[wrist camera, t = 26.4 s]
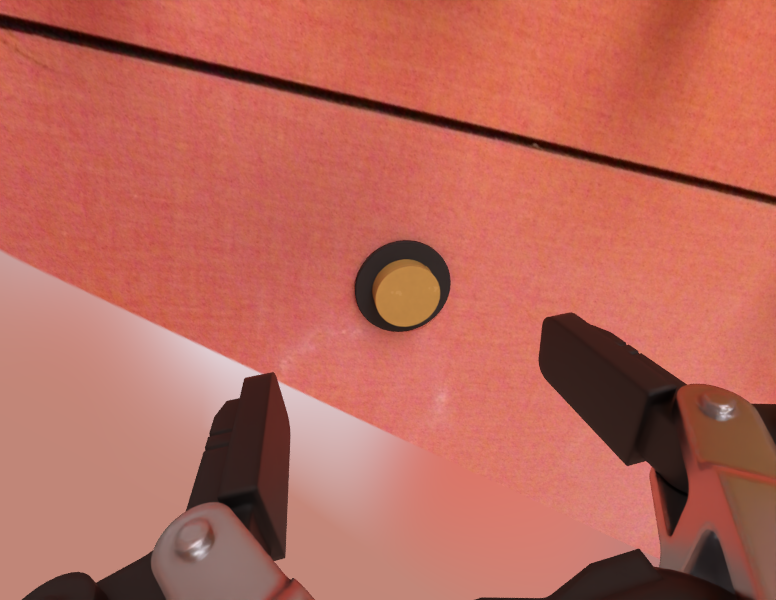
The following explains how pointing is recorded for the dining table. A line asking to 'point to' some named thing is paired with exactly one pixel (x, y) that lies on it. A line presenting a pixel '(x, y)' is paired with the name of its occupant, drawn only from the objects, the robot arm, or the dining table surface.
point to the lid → (405, 292)
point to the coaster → (387, 256)
